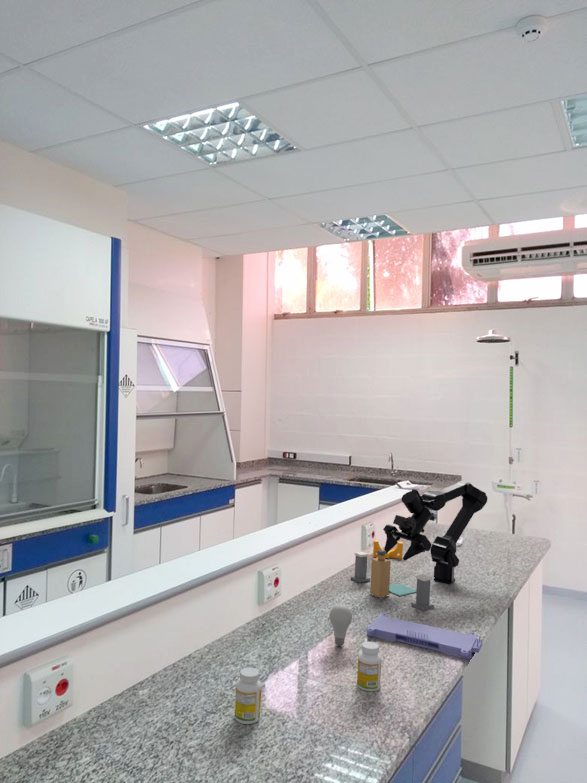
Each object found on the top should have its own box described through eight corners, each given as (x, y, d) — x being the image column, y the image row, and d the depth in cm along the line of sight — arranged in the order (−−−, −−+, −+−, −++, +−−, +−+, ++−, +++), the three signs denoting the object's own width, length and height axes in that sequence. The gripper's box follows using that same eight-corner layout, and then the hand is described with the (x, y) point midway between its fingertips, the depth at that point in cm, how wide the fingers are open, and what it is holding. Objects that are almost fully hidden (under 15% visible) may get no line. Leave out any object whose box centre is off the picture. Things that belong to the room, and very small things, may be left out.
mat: (399, 584, 215) (399, 583, 215) (417, 592, 208) (417, 591, 208) (380, 588, 210) (381, 587, 210) (399, 596, 203) (399, 595, 203)
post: (421, 602, 198) (423, 573, 198) (433, 607, 194) (435, 577, 193) (411, 605, 195) (412, 575, 195) (423, 610, 191) (424, 579, 191)
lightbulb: (353, 643, 163) (354, 603, 163) (347, 652, 157) (349, 611, 157) (331, 639, 165) (333, 599, 165) (325, 648, 159) (327, 607, 159)
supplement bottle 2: (365, 678, 144) (366, 638, 144) (384, 686, 140) (386, 645, 140) (352, 686, 140) (354, 644, 140) (372, 694, 136) (374, 652, 136)
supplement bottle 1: (247, 728, 121) (249, 680, 121) (229, 717, 124) (231, 671, 124) (265, 717, 125) (267, 671, 125) (247, 708, 128) (249, 663, 128)
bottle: (379, 591, 207) (381, 548, 207) (389, 595, 203) (391, 551, 203) (370, 593, 204) (372, 550, 204) (379, 598, 200) (381, 553, 200)
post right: (360, 577, 222) (362, 550, 222) (370, 580, 218) (371, 554, 218) (350, 579, 219) (351, 552, 219) (359, 583, 215) (361, 555, 215)
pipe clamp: (373, 558, 249) (374, 542, 249) (372, 555, 253) (373, 539, 253) (402, 560, 248) (403, 544, 248) (401, 557, 252) (402, 541, 252)
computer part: (474, 665, 154) (483, 644, 168) (475, 649, 154) (484, 629, 168) (364, 639, 167) (380, 621, 181) (365, 624, 167) (381, 607, 181)
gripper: (388, 502, 218) (364, 535, 211) (427, 512, 202) (402, 548, 196) (402, 521, 222) (379, 555, 216) (441, 533, 207) (418, 569, 201)
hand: (393, 556), depth 207 cm, fingers open, 9 cm apart
